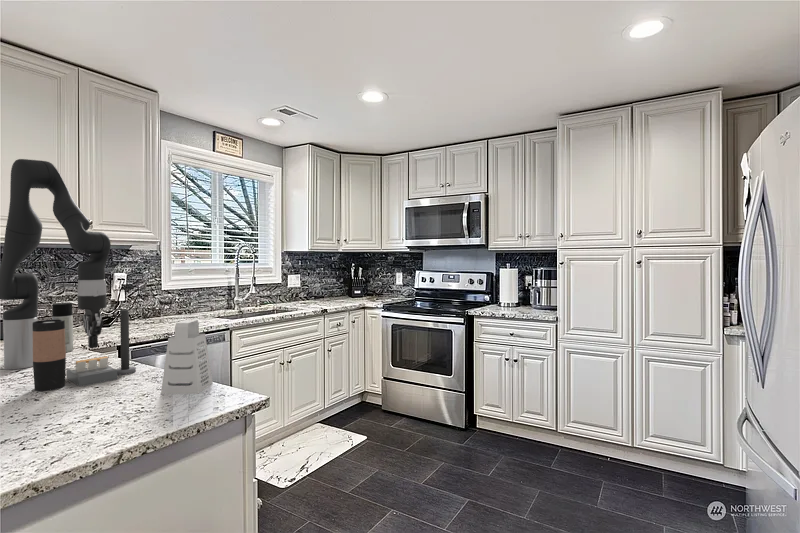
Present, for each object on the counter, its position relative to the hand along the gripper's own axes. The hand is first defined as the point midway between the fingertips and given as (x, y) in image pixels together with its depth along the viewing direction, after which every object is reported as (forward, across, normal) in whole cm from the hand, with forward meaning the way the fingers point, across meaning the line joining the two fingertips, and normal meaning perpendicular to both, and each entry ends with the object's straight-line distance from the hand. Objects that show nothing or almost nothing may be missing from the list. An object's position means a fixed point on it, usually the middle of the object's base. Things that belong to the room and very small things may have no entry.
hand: (93, 347), depth 138 cm
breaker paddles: (+7, 0, 0) cm, 7 cm away
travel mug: (+10, +1, -11) cm, 15 cm away
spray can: (+10, -56, +4) cm, 57 cm away
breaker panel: (+10, 0, 0) cm, 10 cm away
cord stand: (+10, 0, +9) cm, 13 cm away
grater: (+10, +34, +14) cm, 38 cm away
